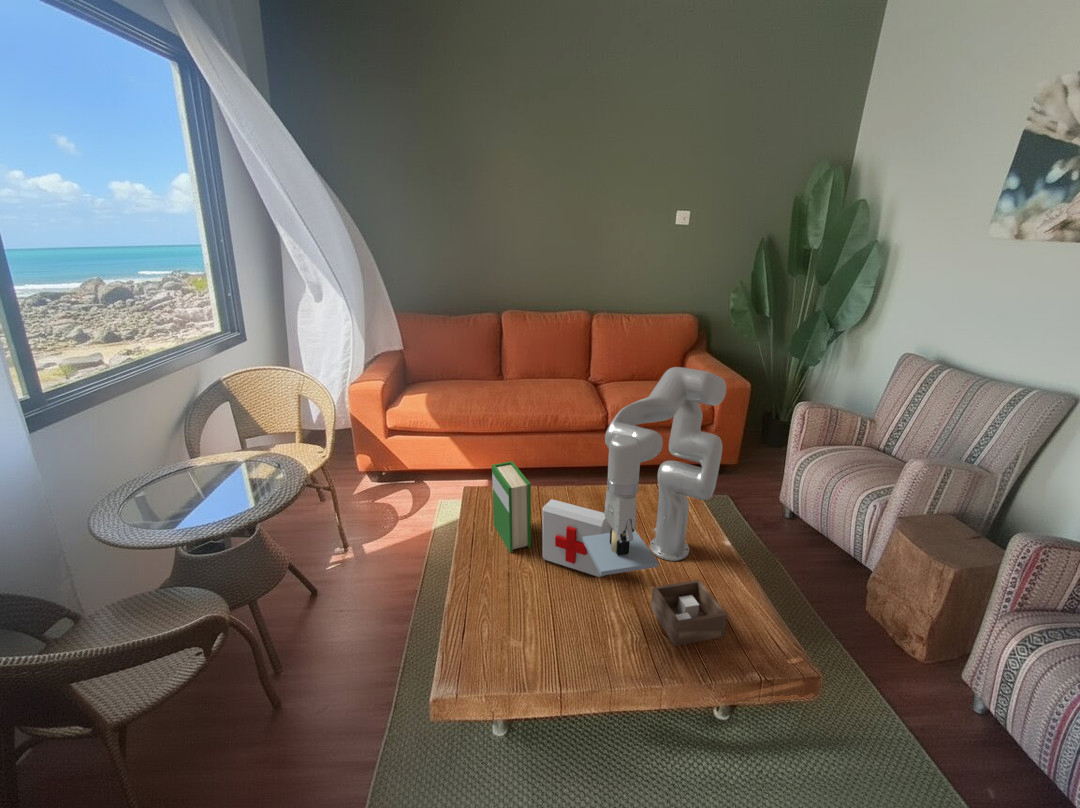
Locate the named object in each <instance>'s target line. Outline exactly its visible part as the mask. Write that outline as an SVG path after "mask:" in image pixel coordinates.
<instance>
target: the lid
mask: <svg viewBox="0 0 1080 808" xmlns="http://www.w3.org/2000/svg"><path fill="white" fill-rule="evenodd" d="M632 533H633V540H632V541H630V543H629V553H628V554H624V555H617V554H616V549H617V541H618V534H616V533H615V532H614V530H612V541H611V544H610V533H605V534H598V535H591V536H584V537H582V541H583V543H584V545H585V547H586V549H587V550H588V552H589V554H590V556H591V558H592V560H593V562H594V564H595V566H596V567H597V569H598V571H599V573H600V575H601V577H604V576H608V575H615V574H620V573H621V574H622V573H628V572H633V571H639V570H641V571H642V570H646V569H652V568H658V567H659V561H658V560H657V558H656V557H655V555H654V554H653V553H652V551H651V549H650V548H649V547H648V545H647V544H646V543H645V542H644V540H643V539H642V538H641V536H640V535H639V533H638V532H637V531H636V530H635V531H634V532H632ZM623 536H626V533H622V537H623ZM603 575H604V576H603Z"/></svg>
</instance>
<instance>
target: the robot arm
mask: <svg viewBox="0 0 1080 808" xmlns="http://www.w3.org/2000/svg"><path fill="white" fill-rule="evenodd" d="M726 394H727V384H726V380H725V379H724V378H723V377H721V376H718V375H716V374H715V373H712V372H709V371H707V370H700V369H696V368H688V367H683V366H682V367H680V366H674V367H670V368H668V369H667V370H666V371H664V373H663V375H662V376H661V378H660V379H659V381H658V382H657V384H656V385H655V386H654V387H653V389H652V391H651V392H650V394H649V396H647V397H645V398H642V399H641V398H640V399H638V400H636V401H634V402H632V403H629V404H628V405H626V406H624V407H623V408H621V409H620V410H619V411H618V412H617V414H615V416H614V418H613V419H612V420H611V422H610V424H609V425H608V426H607V429H606V431H605V435H604V442H605V445H606V446H607V448H608V462H607V464H608V465H607V481H606V482H607V484H606V485H607V487H606V494H605V503H604V512H603V513H604V514H605V518H606V519H607V521H608V523H609V524H610V529H611V530H610V544H611V541H612V530H614V532H615V533H616V534H618V541H617V549H616V554H617V555H624V554H628V553H629V543H630V541H632V540H633V533H632V532H634V531H636V527H637V497H636V495H637V494H638V493H639V479H640V467H641V463H644V462H648V461H650V460H653V459H654V458H655V457H657V456H658V455H659V454H660V452H662V449H663V445H664V444H663V442H664V440H663V437H662V435H661V434H660V433H659V432H658V431H655V430H653V429H649V428H646V427H642V426H638V425H640V424H648V423H649V424H650V423H659V422H663V421H668V420H670V419H672V418H673V419H672V425H671V430H670V435H669V438H668V439H669V440H668V451H669V453H670V454H671V455H672V456H673V457H676V458H679V459H683V460H688V461H692V462H695V463H699V464H700V466H701V467H700V466H696V465H693V464H689V463H686V462H681V461H677V460H665V461H663V462H662V463H661V464H660V465H659V467H658V471H657V484H658V502H657V503H658V505H657V513H656V514H657V516H656V526H655V527H654V529H653V531H654V532H655V537H654V538H652V540H650V543H649V550H650V551H651V553H652V554H653V555H654V556H656V557H657V558H660V559H662V560H666V561H672V562H673V561H675V562H678V561H681V560H684V559H686V558H687V557H688V556H689V553H690V547H689V545H688V544H687V543H686V536H687V530H688V521H689V520H688V519H689V510H690V504H689V499H688V497H690V498H692V499H696V500H701V501H708V500H710V499H711V498H712V497H713V495H714V492H715V490H716V485H717V480H718V475H719V471H720V465H721V461H722V455H723V454H722V453H723V442H722V439H721V438H720V436H718V435H717V434H714V433H710V432H706V431H702V430H701V427H702V422H703V416H704V414H703V411H702V407H701V405H700V404H703V405H707V406H712V407H713V406H715V407H716V406H718V405H721V404H722V402H723V401H724V399H725V398H726ZM622 533H626V536H623V537H622Z"/></svg>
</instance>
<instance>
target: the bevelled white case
mask: <svg viewBox="0 0 1080 808" xmlns="http://www.w3.org/2000/svg"><path fill="white" fill-rule="evenodd" d="M604 513H605V512H602V511H599V510H594V509H590V508H588V507H583V506H578V505H575V504H572V503H568V502H563V501H560V500H556V499H553V498H551V499H550V500H549V501H548V502H547V503H545V504H544V506H543V507H542V518H541V519H542V520H541V521H542V527H541V528H542V545H541V546H542V547H541V549H542V550H541V551H542V558H543V560H545V561H548V562H551V563H554V564H557V565H559V566H560V565H561V566H563V567H566V568H569V569H573V570H577V571H578V572H581V573H585V574H588V575H590V576H594V577H598V578H601V577H604V576H605V575H603V576H601V575H600V573H599V571H598V569H597V567H596V566H595V564H594V562H593V560H592V558H591V556H590V554H589V552H588V550H587V549H586V547H585V545H584V543H583V541H582V537H584V536H591V535H598V534H605V533H610V530H611V529H610V524H609V523H608V521H607V519H606V518H605V514H604Z"/></svg>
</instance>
